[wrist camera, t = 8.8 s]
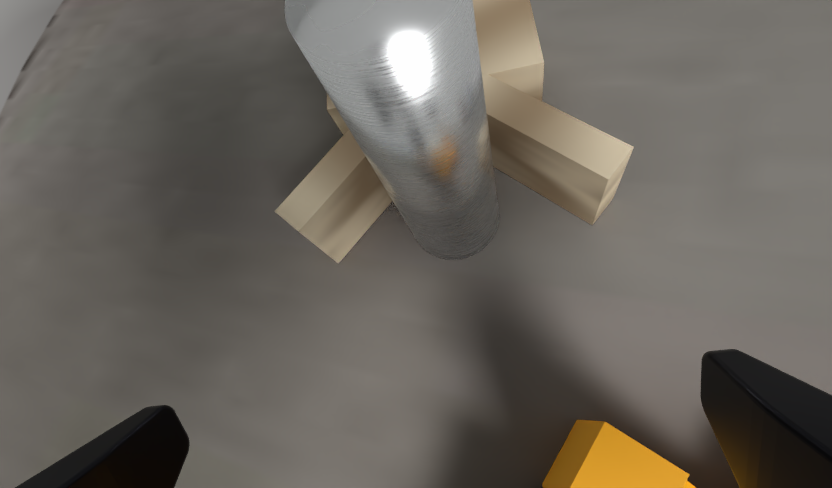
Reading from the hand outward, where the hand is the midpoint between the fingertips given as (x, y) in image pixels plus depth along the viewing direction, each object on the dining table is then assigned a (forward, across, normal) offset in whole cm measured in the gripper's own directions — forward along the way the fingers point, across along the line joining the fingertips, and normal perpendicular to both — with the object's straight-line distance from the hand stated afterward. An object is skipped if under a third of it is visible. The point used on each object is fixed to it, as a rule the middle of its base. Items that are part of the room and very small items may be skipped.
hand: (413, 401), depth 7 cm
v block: (+16, 0, -1) cm, 16 cm away
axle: (+13, 0, +2) cm, 13 cm away
